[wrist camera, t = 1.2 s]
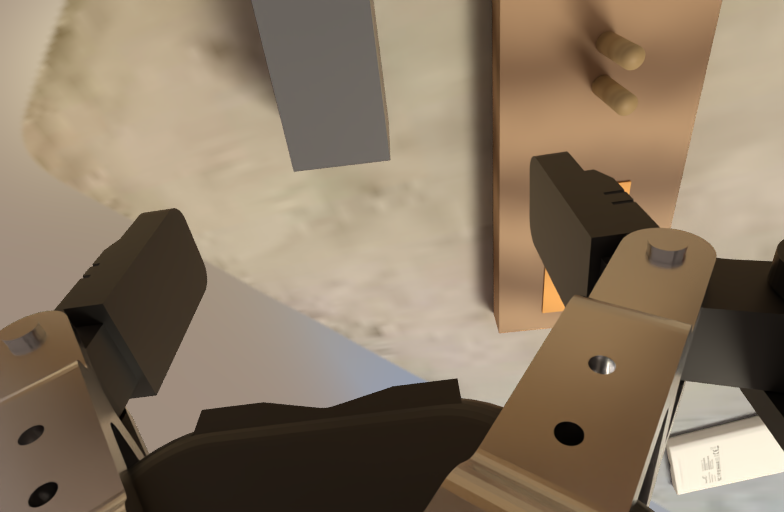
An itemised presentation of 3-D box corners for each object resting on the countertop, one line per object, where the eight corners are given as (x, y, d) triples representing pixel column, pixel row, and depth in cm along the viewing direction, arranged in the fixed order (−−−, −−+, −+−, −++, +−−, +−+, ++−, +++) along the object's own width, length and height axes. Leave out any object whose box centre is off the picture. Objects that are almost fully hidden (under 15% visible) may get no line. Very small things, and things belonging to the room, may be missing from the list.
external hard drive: (809, 449, 47) (670, 482, 49) (813, 395, 42) (661, 433, 45) (822, 465, 45) (678, 498, 48) (828, 411, 41) (670, 449, 44)
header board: (491, -45, 23) (515, -35, 19) (713, -75, 23) (786, -71, 19) (493, 313, 36) (508, 366, 32) (637, 298, 35) (671, 350, 31)
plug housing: (266, -46, 23) (242, -36, 19) (366, -60, 23) (362, -54, 19) (306, 133, 28) (293, 171, 24) (388, 123, 28) (390, 160, 24)
